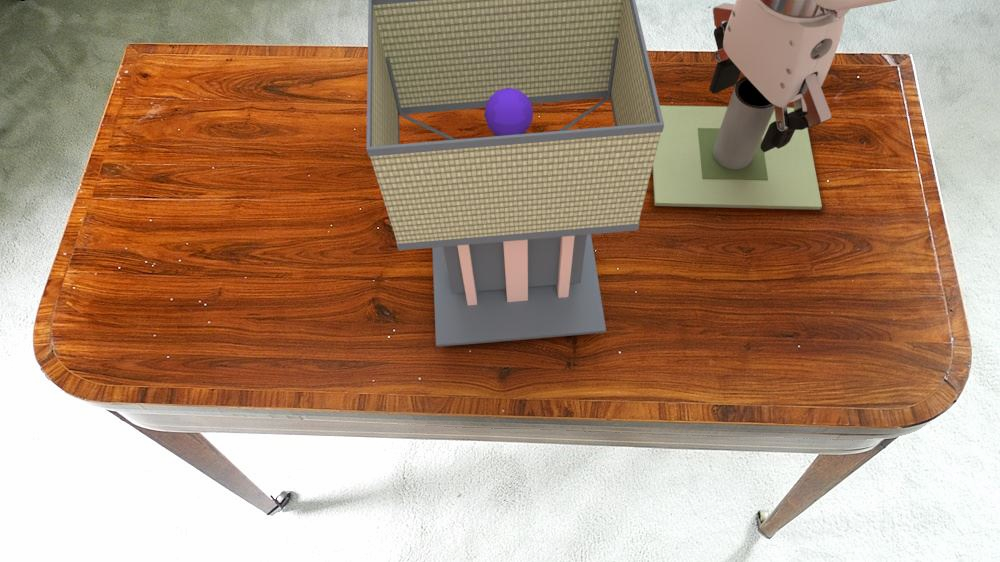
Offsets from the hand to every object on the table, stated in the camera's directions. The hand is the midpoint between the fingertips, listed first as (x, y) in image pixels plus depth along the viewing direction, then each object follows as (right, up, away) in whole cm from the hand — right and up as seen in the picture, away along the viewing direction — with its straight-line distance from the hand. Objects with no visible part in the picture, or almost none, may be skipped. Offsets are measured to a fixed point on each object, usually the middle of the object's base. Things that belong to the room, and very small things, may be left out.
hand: (747, 115), depth 77 cm
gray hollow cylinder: (0, -3, +6) cm, 7 cm away
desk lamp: (-25, -18, 0) cm, 31 cm away
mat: (0, -3, +6) cm, 7 cm away
